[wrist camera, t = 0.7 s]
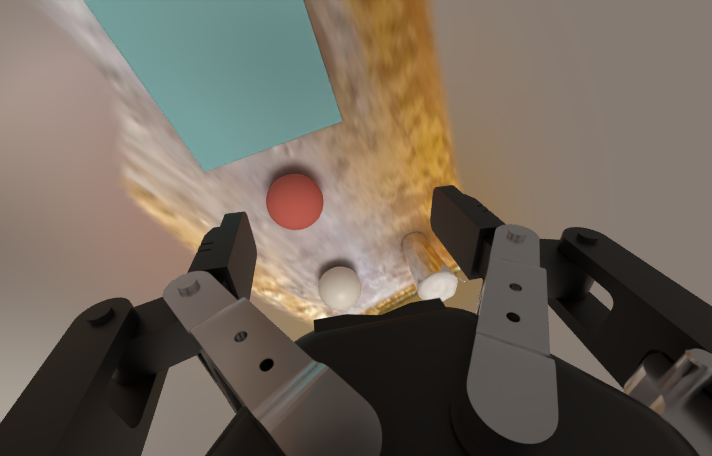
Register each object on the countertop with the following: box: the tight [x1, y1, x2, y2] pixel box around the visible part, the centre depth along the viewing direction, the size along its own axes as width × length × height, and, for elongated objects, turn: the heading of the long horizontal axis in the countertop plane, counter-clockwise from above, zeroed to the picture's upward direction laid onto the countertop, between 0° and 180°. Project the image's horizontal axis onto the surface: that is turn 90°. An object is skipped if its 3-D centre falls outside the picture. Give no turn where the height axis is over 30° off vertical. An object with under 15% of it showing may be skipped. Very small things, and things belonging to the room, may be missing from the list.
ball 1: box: [266, 174, 323, 230], centre depth 29 cm, size 6×6×6 cm
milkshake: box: [402, 232, 464, 301], centre depth 35 cm, size 5×5×10 cm
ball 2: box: [318, 266, 361, 310], centre depth 38 cm, size 6×6×6 cm
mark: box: [84, 0, 342, 172], centre depth 24 cm, size 14×14×1 cm
